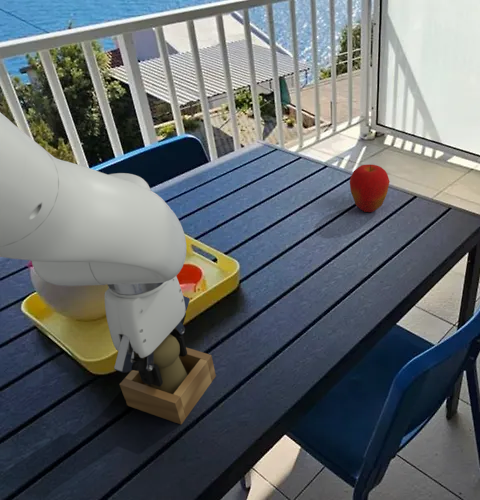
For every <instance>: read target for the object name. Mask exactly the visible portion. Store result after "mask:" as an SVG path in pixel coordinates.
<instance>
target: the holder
mask: <svg viewBox="0 0 480 500" xmlns="http://www.w3.org/2000/svg"><path fill="white" fill-rule="evenodd" d="M186 350H187V354H186V356H184V357H182V356H179V358H180V360H181V362H182V364H183V367H184V369H185V371H186V373H187V375H188V376H187V377H186V378H185V379H184V381H183V382H182V383H181V385H180V386H179V387H178V389H177V390H176V391H175V392H174V394H170V393H167V392H164V391H161V390H158V389H155V388H152V387H151V385H148V384H145V383H144V382H143V381H142V380H141V377H140V374H139V371H135V370H133V371H130V372H128V374H127V375H126V376H125V377H124V378H123V380H122V381H121V382H120V383H119V387H120V389H121V392H122V395H123V397H124V401H125V403H126V406H127V407H130V408H133V409H137V410H138V411H141V412H144V413H147V414H150V415H153V416H156V417H159V418H162V419H165V420H167V421H170V422H173V423H175V424H179V425H182V424H183V423H184V422H185V420H186V419H187V418H188V416H189V415H190V413H191V412H192V411H193V409H194V408H195V406H196V405H197V404H198V402H199V401H200V400H201V398H202V397H203V395H204V394H205V392H206V391H207V389H208V388H209V387H210V386H211V384H212V383H213V381H214V380H215V379H216V377H217V374H216V370H215V365H214V360H213V357H212V354H209V353H206V352H203V351H199V350H196V349H193V348H189V347H187V346H186Z"/></svg>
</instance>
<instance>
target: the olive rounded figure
mask: <svg viewBox="0 0 480 500" xmlns="http://www.w3.org/2000/svg"><path fill="white" fill-rule="evenodd" d="M179 354H180V345H179V343H178V341H177V339H176V338H175V337H174V336H172V335H170V334H169V335H168V336H167V337H166V338H165V339H164V340H163V342H162V343H161V344H160V345H159V346H158V347H157V348H156V349H155V350H154V364H157V365H158V367H159V370H160V374H161V377H162V380H163V384H162V385H161V386H160V387H159V386H156V385H153V384H151V387H152V388H155V389H158V390H161V391H164V392H167V393H170V394H174V392H175V391H176V390H177V389H178V387H179V386H180V385H181V383H182V382H183V381H184V379H185V378H186V377H187V376H188V374H187V373H186V371H185V369H184V367H183V364H182V362H181V360H180V358H179ZM143 359H145V357H144V358H143Z"/></svg>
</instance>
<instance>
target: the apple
mask: <svg viewBox="0 0 480 500" xmlns="http://www.w3.org/2000/svg"><path fill="white" fill-rule="evenodd" d="M390 182H391V181H390V178H389V174H388V173H387V171H386V170H385V169H384V168H383V167H382V166H379V165H377V164H361V165H359V166H358V167H357V168H356V169H354V170H353V172H352V174H351V176H350V178H349V187H350V193H351V196H352V198H353V201H354V203H355V205H356V207H357V208H358V209H360V210H361V211H362V212H365V213H374V212H375V211H376V210H378V209H380V208H381V207H382V206H383V204H384V202H385V199H386V198H387V195H388V192H389V187H390Z"/></svg>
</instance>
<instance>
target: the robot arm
mask: <svg viewBox="0 0 480 500" xmlns="http://www.w3.org/2000/svg"><path fill="white" fill-rule="evenodd" d="M186 257H187V239H186V234H185V231H184V229H183V226H182V223H181V221H180V220H179V218H178V216H177V214H176V213H175V212H174V211H173V209H172V208H171V207H170V206H169V205H168V203H167V202H166V201H165V200H164V199H163V198H162V197H161V196H160V195H159V194H157V193H156V192H154V191H152V190H151V187H150V186H149V183H148V182H147V181H146V180H145V179H144V178H142V177H141V176H139V175H136V174H133V173H127V172H117V173H109V174H107V173H104V172H101V171H99V170H96V169H93V168H90V167H87V166H83V165H80V164H77V163H74V162H70V161H67V160H63V159H59V158H57V157H55V156H54V155H52V154H51V153H50V152H48V150H46V149H45V148H44V147H43V146H42V145H40V144H39V143H38V142H36V140H34V139H32V137H30V135H28V134H27V133H25V132H24V131H23V130H22V129H20V128H19V127H18V126H17V125H16V124H15V123H13V122H12V121H11V120H10V119H9V118H8V117H7V116H6V115H4V114H3V113H2V112H0V258H4V259H5V258H6V259H11V260H21V261H22V260H23V261H31V266H32V267H33V270H34V272H35V273H36V275H38V277H39V278H40V279H42V280H43V281H45V282H46V283H48V284H51V285H54V286H61V287H87V286H105V285H107V290H105V292H104V309H105V316H106V317H105V318H106V321H107V326H108V330H109V334H110V338H111V340H112V344H113V346H114V348H115V350H116V351H118V352H117V355H116V360H115V363H114V367H113V368H114V369H113V370H114V371H117V372H120V373H123V374H124V373H130V372H131V371H133V370H135V371H139V374H140V377H141V380H142V381H143V382H144V383H145V384H148V385H151V384H153V385H156V386H159V387H160V386H161V385H162V384H163V380H162V377H161V374H160V370H159V367H158V365H157V364H154V350H155V349H156V348H157V347H158V346H159V345H160V344H161V343H162V342H163V340H164V339H165V338H166V337H167V336H168V335H169V334H170V335H172V336H174V337H175V338H176V339H177V341H178V343H179V345H180V354H179V356H182V357H184V356H186V354H187V350H186V347H187V346H186V342H185V338H184V333H185V331H186V327H185V326H184V323H185V319H186V316H187V310H188V307H189V304H190V301H191V299H190V297H188V296H184V294H183V291H182V287H181V284H180V282H179V279H178V274H180V272H181V271H182V269H183V267H184V265H185V262H186ZM144 357H145V359H143V358H144Z"/></svg>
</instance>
